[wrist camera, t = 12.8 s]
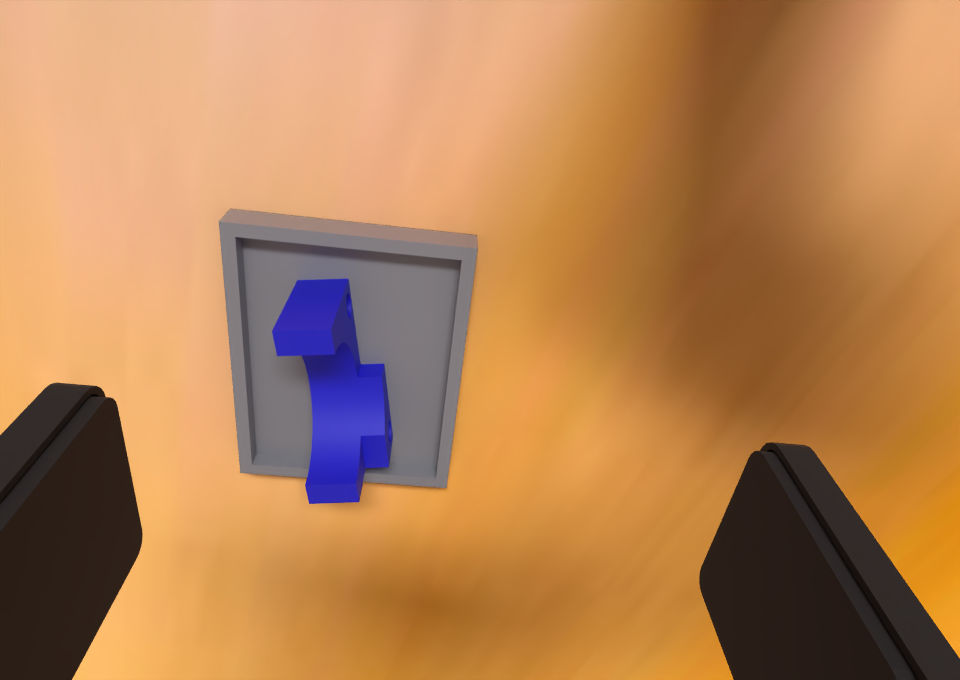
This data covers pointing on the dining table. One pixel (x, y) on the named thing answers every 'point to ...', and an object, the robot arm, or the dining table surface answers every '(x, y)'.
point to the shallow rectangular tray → (379, 328)
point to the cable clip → (336, 389)
